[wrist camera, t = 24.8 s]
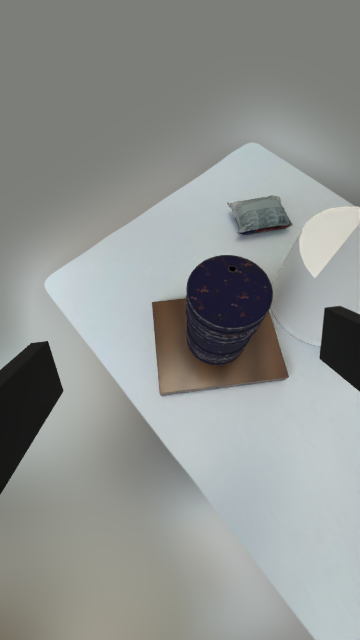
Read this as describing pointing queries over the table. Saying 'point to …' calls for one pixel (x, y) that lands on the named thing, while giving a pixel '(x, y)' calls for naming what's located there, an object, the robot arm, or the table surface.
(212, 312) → the navy ribbed canister
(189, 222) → the table surface
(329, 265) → the cylinder
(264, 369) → the board
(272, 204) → the packaged food
